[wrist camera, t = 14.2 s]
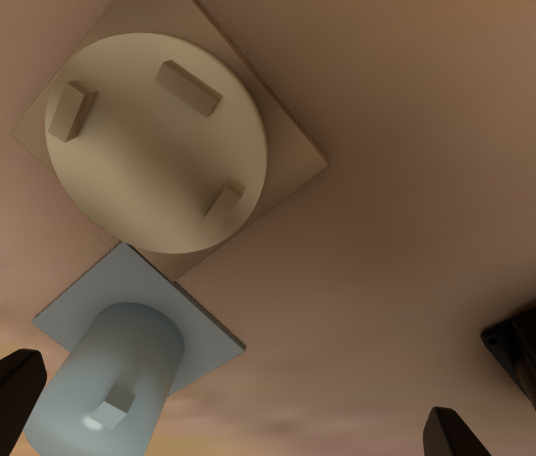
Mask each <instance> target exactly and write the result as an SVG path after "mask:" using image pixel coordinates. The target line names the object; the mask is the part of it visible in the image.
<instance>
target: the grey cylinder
mask: <svg viewBox="0 0 536 456" xmlns="http://www.w3.org/2000/svg"><path fill="white" fill-rule="evenodd" d="M184 351H185V344H184V339H183V337H182V334H181V332H180V331H179V329H178V328H177V326H176V325H175V324H174V323H173V322H172V321H171V320H170V319H169V318H168V317H166V316H165V315H163V314H162V313H160V312H159V311H157V310H155V309H152V308H150V307H147V306H144V305H140V304H134V303H119V304H115V305H112V306H109V307H107V308H105V309H104V310H102V311H101V312H100V313H99V314H98V315H97V317H96V318H95V320H94V321H93V322H92V324H91V325H90V326H89V328H88V329H87V331H86V332H85V333H84V335H83V336H82V338H81V339H80V340H79V342H78V343H77V344H76V346H75V347H74V349H73V350H72V351H71V353H70V354H69V356H68V357H67V358H66V360H65V361H64V362H63V364H62V365H61V367H60V368H59V369H58V371H57V372H56V373H55V375H54V376H53V378H52V379H51V380H50V382H49V383H48V385H47V386H46V387H45V389H44V390H43V391H42V393H41V395H40V397H39V399H38V401H37V403H36V405H35V407H34V409H33V411H32V413H31V415H30V417H29V419H28V421H27V423H26V425H25V427H24V429H23V431H24V434H25V437H26V438H27V440H28V442H29V443H30V445H31V446H32V447H33V448H34V449H35V450H36V451H37V452H38V453H39V454H40V455H41V456H144V454H145V451H146V449H147V446H148V444H149V441H150V439H151V436H152V434H153V431H154V429H155V426H156V424H157V421H158V419H159V416H160V413H161V411H162V408H163V406H164V403H165V401H166V398H167V396H168V393H169V391H170V388H171V386H172V383H173V381H174V378H175V376H176V373H177V370H178V368H179V365H180V363H181V360H182V358H183V355H184Z"/></svg>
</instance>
